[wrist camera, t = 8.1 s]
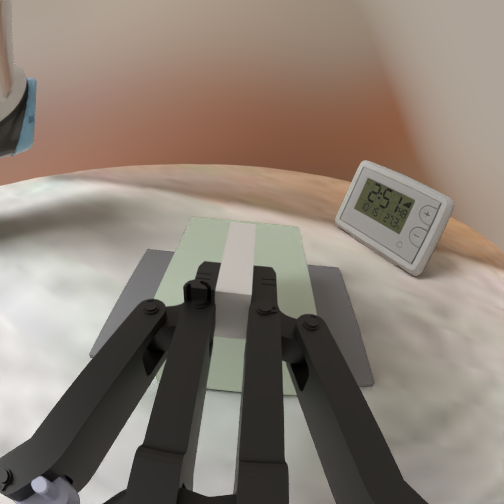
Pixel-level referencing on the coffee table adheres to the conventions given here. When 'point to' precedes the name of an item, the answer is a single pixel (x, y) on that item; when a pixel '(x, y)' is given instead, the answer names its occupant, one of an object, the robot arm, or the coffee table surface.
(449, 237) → the coffee table surface
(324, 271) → the felt pad
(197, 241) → the sage block
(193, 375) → the robot arm
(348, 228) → the digital clock
